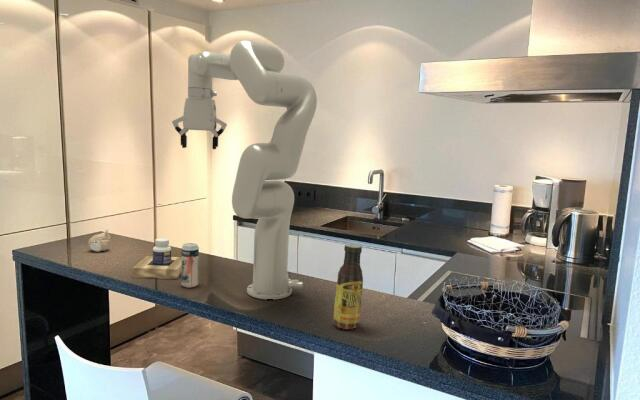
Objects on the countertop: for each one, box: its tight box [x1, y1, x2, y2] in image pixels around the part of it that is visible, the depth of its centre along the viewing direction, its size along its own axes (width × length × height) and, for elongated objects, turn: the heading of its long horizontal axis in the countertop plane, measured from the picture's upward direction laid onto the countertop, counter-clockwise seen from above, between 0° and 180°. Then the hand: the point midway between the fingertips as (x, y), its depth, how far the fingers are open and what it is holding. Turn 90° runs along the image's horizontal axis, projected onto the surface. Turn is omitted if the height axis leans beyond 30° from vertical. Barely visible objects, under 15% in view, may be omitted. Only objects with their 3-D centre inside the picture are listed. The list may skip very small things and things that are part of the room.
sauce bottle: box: [333, 243, 364, 330], centre depth 112 cm, size 7×6×20 cm
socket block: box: [131, 255, 182, 280], centre depth 146 cm, size 13×13×3 cm
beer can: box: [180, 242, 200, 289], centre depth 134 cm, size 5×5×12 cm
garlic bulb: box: [87, 228, 111, 253], centre depth 165 cm, size 7×6×8 cm
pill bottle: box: [152, 237, 172, 266], centre depth 145 cm, size 5×5×10 cm
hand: (199, 148), depth 153 cm, fingers open, 9 cm apart
